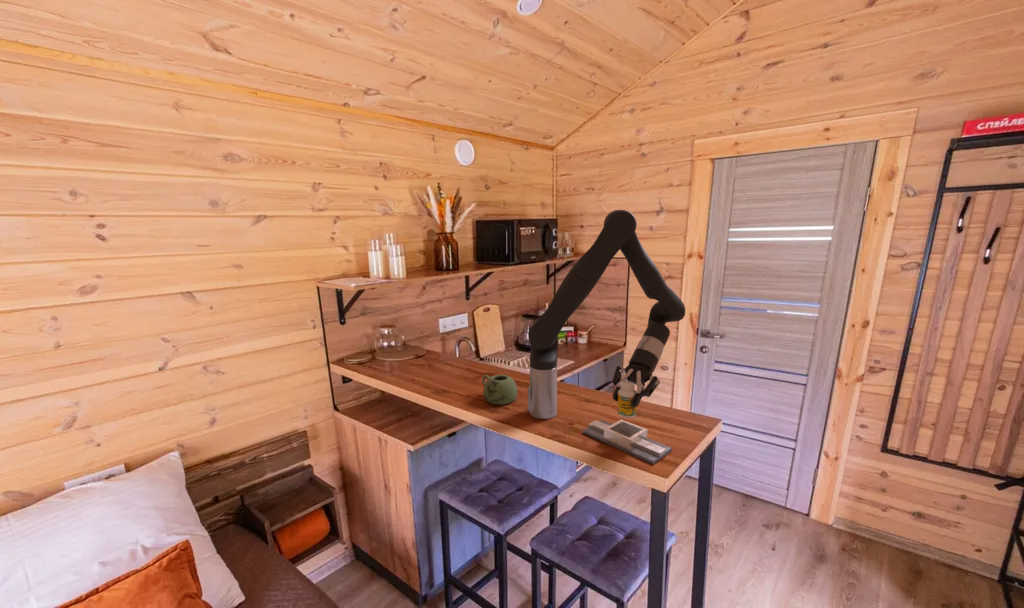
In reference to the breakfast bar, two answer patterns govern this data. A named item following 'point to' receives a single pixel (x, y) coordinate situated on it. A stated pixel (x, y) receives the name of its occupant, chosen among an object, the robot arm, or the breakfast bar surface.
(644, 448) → the rail collar
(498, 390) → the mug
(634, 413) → the supplement bottle
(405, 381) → the breakfast bar surface
